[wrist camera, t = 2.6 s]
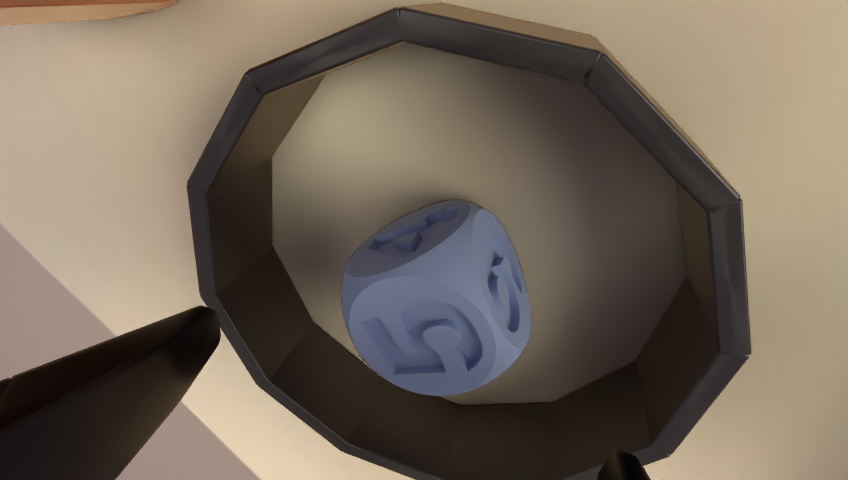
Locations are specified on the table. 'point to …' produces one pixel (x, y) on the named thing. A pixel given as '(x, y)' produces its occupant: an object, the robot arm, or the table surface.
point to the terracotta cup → (73, 9)
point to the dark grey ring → (428, 415)
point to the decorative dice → (438, 300)
